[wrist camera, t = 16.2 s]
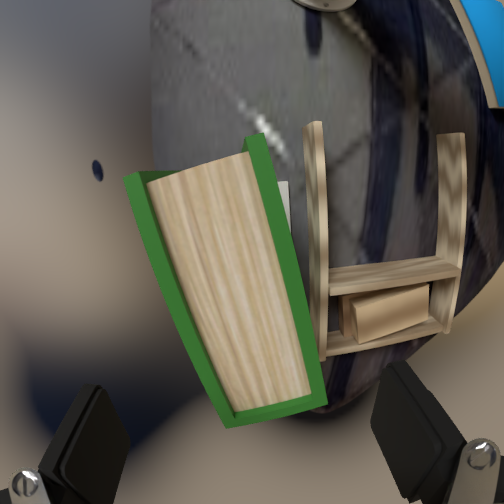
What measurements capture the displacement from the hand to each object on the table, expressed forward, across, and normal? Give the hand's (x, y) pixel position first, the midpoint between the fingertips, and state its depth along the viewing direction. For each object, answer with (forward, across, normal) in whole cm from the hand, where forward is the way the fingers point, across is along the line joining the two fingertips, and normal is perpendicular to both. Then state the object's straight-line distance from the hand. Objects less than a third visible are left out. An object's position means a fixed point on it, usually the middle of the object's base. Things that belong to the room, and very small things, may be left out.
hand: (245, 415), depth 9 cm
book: (+34, -52, -32) cm, 70 cm away
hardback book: (+32, 0, +1) cm, 32 cm away
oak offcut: (+30, -21, +14) cm, 39 cm away
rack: (+32, -21, +3) cm, 39 cm away
